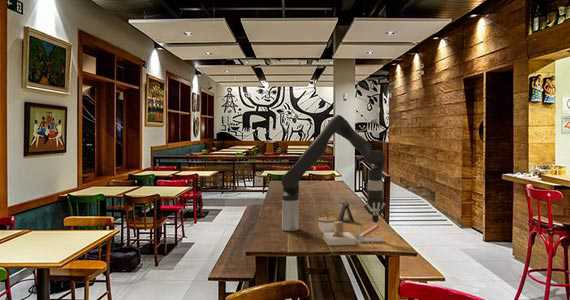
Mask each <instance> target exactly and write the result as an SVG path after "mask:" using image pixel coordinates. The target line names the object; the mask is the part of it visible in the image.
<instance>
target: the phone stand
mask: <svg viewBox="0 0 570 300" xmlns="http://www.w3.org/2000/svg"><path fill="white" fill-rule="evenodd" d="M341 203H342V205H341V208H340V212H339V214H338V217H337V221H342V222H343V223H349V221H355V220H354V216H353V214H352V212H351V210H350V203H349V202H347V200H346V201H342V202H341ZM345 213H346V214H347V218H344V217H345Z"/></svg>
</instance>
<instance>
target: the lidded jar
mask: <svg viewBox="0 0 570 300" xmlns="http://www.w3.org/2000/svg"><path fill="white" fill-rule="evenodd" d="M317 220H318V221H317V222H318V223H317V224H318V229H319V230H320V232H321V233H322V234H323V233H334V221H338V217H337V218H336V217H333V216H330V215H327V216H324V217H323V216H322V217H321V216H320V217H319V218H317Z"/></svg>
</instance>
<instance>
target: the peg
mask: <svg viewBox="0 0 570 300" xmlns="http://www.w3.org/2000/svg"><path fill="white" fill-rule="evenodd" d="M343 232H344V222H342V221H339V220H337V221H334V232H333V233H334V237H343Z"/></svg>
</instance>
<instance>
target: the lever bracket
mask: <svg viewBox="0 0 570 300" xmlns="http://www.w3.org/2000/svg"><path fill="white" fill-rule="evenodd" d="M360 234H361V232H359V233H356V237H354V238H355V239H356V243H358V244H362V243H385V239H384V238H382V237H363V236H359V238H358V235H360Z"/></svg>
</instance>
